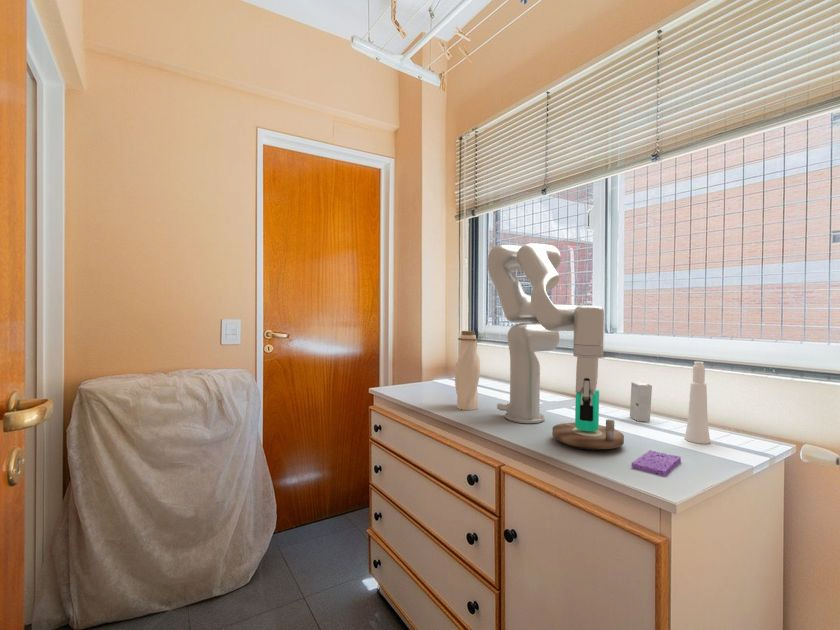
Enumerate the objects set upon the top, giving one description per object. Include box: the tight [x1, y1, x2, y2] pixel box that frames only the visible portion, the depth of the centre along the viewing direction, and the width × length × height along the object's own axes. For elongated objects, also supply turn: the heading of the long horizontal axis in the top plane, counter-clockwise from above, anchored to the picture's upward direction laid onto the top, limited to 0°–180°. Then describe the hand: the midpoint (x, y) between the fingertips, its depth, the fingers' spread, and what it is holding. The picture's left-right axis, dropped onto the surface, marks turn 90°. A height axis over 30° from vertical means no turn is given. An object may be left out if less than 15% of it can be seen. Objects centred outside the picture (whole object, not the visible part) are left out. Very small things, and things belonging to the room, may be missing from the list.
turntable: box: [551, 418, 625, 450], centre depth 114 cm, size 18×18×7 cm
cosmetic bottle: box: [684, 361, 711, 445], centre depth 117 cm, size 6×6×22 cm
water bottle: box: [454, 330, 481, 411], centre depth 154 cm, size 10×9×28 cm
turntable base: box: [566, 444, 608, 452], centre depth 114 cm, size 12×12×1 cm
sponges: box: [631, 449, 682, 477], centre depth 99 cm, size 7×13×2 cm, turn 134°
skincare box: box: [629, 381, 653, 422], centre depth 139 cm, size 6×4×12 cm
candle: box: [574, 389, 600, 431], centre depth 114 cm, size 6×6×12 cm
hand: (586, 417), depth 114 cm, fingers closed on candle, 4 cm apart
